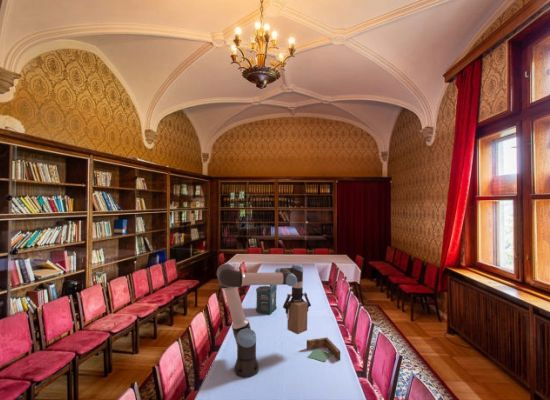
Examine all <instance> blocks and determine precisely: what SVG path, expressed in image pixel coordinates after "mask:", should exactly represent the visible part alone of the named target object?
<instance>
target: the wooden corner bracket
mask: <svg viewBox="0 0 550 400" xmlns="http://www.w3.org/2000/svg"><path fill="white" fill-rule="evenodd" d="M323 348H326V349H327V350H328V352H329V353H331V354H330V355H332V356H333V357H334V358H335V360H336V361H341V350H340V349H339V348H338V346H336V345H335V344H334V343H333V342H332V340H330V338H328V337H319V338H313V339H306V350H307V351H310V350H314V349H317V350H318V349H323Z"/></svg>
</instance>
